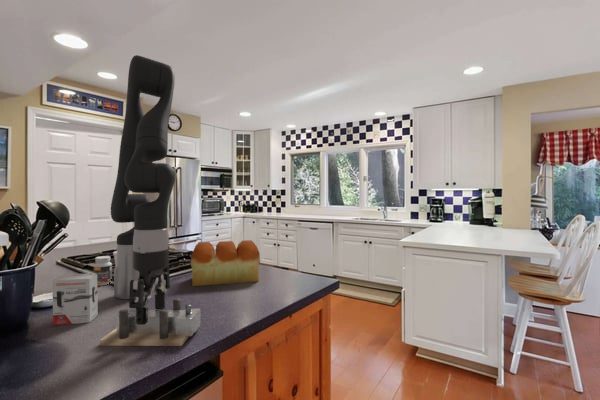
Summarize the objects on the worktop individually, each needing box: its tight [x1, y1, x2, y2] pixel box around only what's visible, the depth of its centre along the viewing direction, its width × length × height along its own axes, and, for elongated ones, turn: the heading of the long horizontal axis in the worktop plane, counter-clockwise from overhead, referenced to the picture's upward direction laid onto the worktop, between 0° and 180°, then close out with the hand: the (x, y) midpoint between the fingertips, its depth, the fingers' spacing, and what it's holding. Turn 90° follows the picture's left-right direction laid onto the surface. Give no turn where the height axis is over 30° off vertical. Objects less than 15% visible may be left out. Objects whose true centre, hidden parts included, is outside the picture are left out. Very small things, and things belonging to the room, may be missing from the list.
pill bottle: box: [93, 255, 113, 287], centre depth 111 cm, size 6×6×10 cm
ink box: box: [51, 272, 99, 326], centre depth 79 cm, size 8×5×12 cm, turn 103°
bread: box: [190, 239, 261, 287], centre depth 118 cm, size 25×12×15 cm, turn 105°
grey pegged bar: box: [116, 303, 201, 337], centre depth 71 cm, size 18×6×6 cm, turn 90°
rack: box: [99, 297, 190, 347], centre depth 71 cm, size 18×10×7 cm, turn 90°
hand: (151, 316), depth 71 cm, fingers open, 8 cm apart
